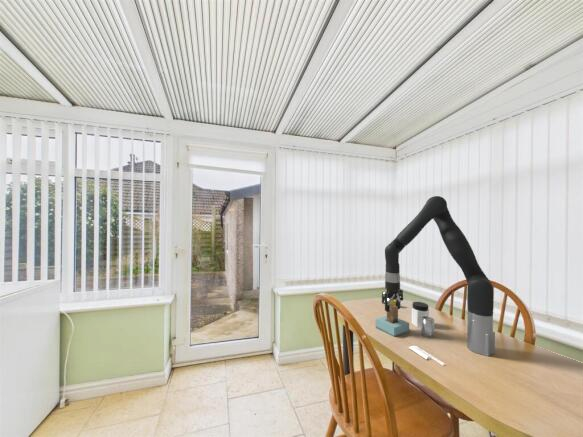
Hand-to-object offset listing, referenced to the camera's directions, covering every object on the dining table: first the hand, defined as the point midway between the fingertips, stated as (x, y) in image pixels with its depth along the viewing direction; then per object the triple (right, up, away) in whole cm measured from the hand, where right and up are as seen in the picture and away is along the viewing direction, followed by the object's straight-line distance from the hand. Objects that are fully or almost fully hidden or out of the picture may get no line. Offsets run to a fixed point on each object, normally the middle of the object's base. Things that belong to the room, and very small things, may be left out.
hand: (392, 310), depth 129 cm
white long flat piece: (+2, -12, -26) cm, 29 cm away
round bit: (+16, -11, -6) cm, 20 cm away
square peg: (0, -10, 0) cm, 10 cm away
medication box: (+16, -12, +40) cm, 44 cm away
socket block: (0, -11, 0) cm, 11 cm away
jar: (+19, -11, +7) cm, 23 cm away
